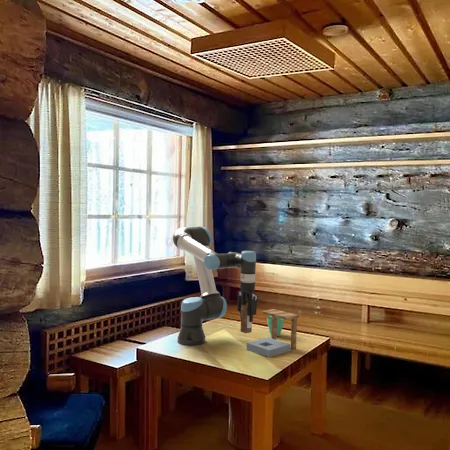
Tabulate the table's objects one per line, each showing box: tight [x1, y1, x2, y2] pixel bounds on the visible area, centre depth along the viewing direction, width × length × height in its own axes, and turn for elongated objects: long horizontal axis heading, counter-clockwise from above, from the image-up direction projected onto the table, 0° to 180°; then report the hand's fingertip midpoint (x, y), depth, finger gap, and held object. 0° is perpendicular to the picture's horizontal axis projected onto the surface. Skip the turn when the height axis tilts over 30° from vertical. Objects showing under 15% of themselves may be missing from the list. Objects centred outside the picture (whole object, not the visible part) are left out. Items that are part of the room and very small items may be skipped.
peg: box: [240, 303, 253, 334], centre depth 253 cm, size 4×4×14 cm
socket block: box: [246, 337, 291, 358], centre depth 257 cm, size 16×16×4 cm
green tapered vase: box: [266, 315, 285, 337], centre depth 287 cm, size 15×10×10 cm
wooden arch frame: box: [261, 308, 300, 351], centre depth 262 cm, size 18×9×18 cm, turn 41°
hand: (246, 326), depth 253 cm, fingers closed on peg, 4 cm apart
